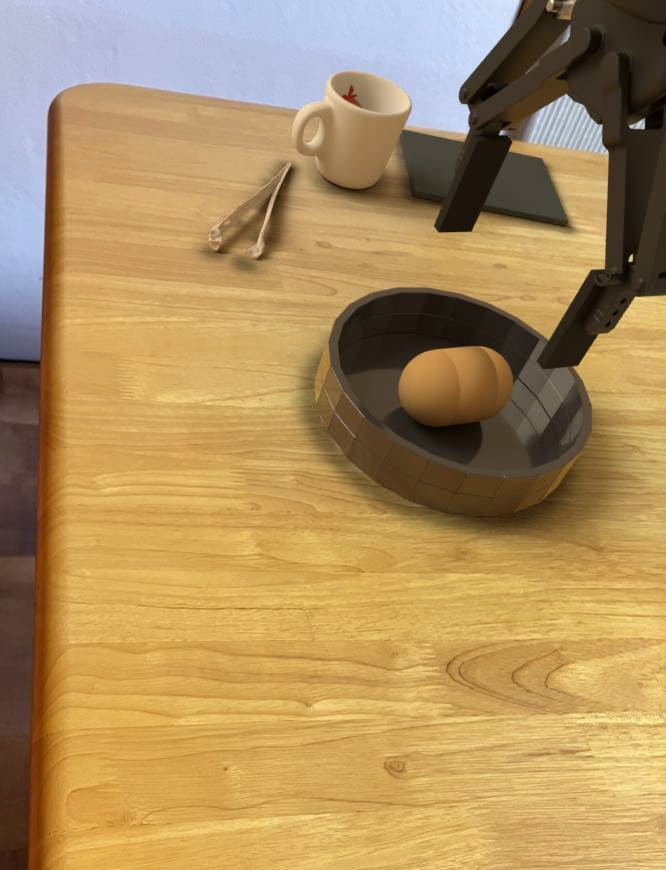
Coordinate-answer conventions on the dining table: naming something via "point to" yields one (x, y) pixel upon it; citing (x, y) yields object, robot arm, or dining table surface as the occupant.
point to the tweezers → (244, 208)
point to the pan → (456, 444)
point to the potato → (455, 386)
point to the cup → (354, 127)
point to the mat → (511, 192)
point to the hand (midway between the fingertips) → (501, 292)
